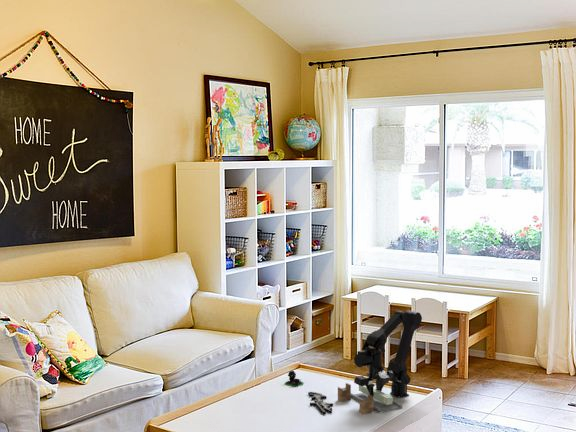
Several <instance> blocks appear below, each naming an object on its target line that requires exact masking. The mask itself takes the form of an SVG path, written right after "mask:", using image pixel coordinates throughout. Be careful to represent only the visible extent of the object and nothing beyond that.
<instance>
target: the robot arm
mask: <svg viewBox="0 0 576 432" xmlns="http://www.w3.org/2000/svg"><path fill="white" fill-rule="evenodd" d="M422 320H423V316H422V314H421V313H420V312H417V311H414V310H410V309H409V310H405V311H403V310H395V311H394V312H393V315H392V316H391V317H389V319H388V320H387V321H386V322H385V323H384V324H383V325H382V326H381V327H380V328H379V329H377V330H374V331H372V332H371V333H370V334H368V335H367V337H366V339H365V341H364V343H363V346H362V347H361V350H358V351H357V354H355V355H354V358H353V362H354V365H356V367H358V368H362V367H366V366H367V368H368V372H367V373H366V376H367V377H366V376H364V375H359V376H355V377H354V379H353V380H354V381H353V382H354V384H355V385H358V386H359V385H360V386H366V387H367V389H368V392H369V394H370V395H371V396H373V388H375V389H377V390H379V391H381V392H383V388H384V386H385V385H386V384H389V383H390V382H391V387H390V388H391V389H390V390H391V391H390V392H389V394H390V396H391V395H392V397H396V398H399V399H400V398H403V397H409V396H410V394H409V393H408V384H410V383H411V377H410V376H409V374H408V373H407V372H408V368H407V367H408V366H407V358H408V354H409V352H410V349H411V348H410V347H411V344H412V341H413V337H414V334H415V331H417V330H418V328H419V327H420V325H421V324H422ZM401 324H402V328H403V329H402V333H401V336H400V341H399V344H398V347H397V350H396V354H395V358H394V359H392V361H390V360H389V362H388V366H387V368H386V370H387V371H385V368H384V365H383V364H382V363H383V362H382V361H383V360H382V359H383V355H382V354H383V353H385V352H386V350H385V349H384V346H385V345H386V343H387V342H388V341H387V340H388V338H389V336H390V335H391V334H392V333H393V332H394V331H395V330H396V329H397V328H398V327H399V325H401ZM374 382H375V384H374Z"/></svg>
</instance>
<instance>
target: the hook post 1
mask: <svg viewBox="0 0 576 432" xmlns="http://www.w3.org/2000/svg"><path fill="white" fill-rule="evenodd" d="M351 393H352V385H351V384H350V383H348V382H346V383H345V387H339V386H337V401H339V402H342V403H343V402H348V400H349V401H351V399H352V398H351Z"/></svg>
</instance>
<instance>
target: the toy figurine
mask: <svg viewBox="0 0 576 432" xmlns="http://www.w3.org/2000/svg"><path fill="white" fill-rule="evenodd" d="M287 377H288V380H287V381H285V382H284V385H285V386H287V387H292V388H293V387H301V386H303V385H304V384H305V383H304V382H303V381H301V379H299V378H296V377H297V374H296V372H295V371H294V370H290V371H289V372H288V374H287Z"/></svg>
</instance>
